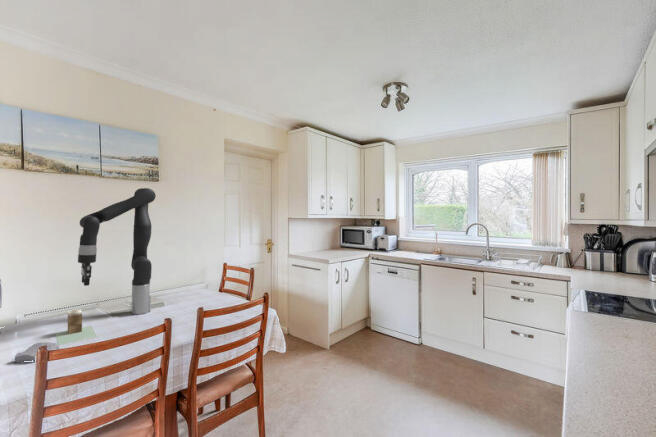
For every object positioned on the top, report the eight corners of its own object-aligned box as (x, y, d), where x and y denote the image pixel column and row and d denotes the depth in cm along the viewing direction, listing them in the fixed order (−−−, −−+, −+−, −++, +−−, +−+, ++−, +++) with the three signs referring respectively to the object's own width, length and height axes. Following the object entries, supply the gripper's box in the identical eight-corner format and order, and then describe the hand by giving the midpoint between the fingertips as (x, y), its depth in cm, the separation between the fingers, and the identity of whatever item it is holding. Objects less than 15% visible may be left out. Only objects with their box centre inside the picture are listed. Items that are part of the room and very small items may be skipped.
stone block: (61, 353, 132) (37, 349, 131) (63, 343, 132) (39, 339, 131) (37, 369, 121) (10, 364, 120) (39, 357, 120) (13, 352, 119)
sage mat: (91, 327, 157) (91, 325, 157) (97, 338, 145) (97, 336, 144) (55, 334, 147) (55, 332, 147) (58, 346, 134) (58, 345, 134)
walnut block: (80, 328, 153) (80, 309, 153) (81, 331, 149) (82, 311, 149) (67, 331, 149) (67, 311, 149) (68, 334, 146) (68, 314, 146)
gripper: (98, 254, 157) (96, 285, 157) (94, 251, 167) (92, 280, 167) (80, 255, 152) (77, 287, 152) (76, 252, 162) (74, 282, 162)
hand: (85, 283), depth 159 cm, fingers open, 8 cm apart
